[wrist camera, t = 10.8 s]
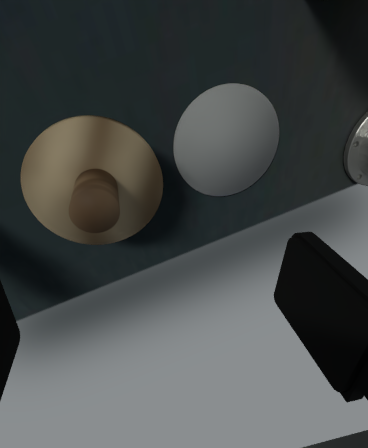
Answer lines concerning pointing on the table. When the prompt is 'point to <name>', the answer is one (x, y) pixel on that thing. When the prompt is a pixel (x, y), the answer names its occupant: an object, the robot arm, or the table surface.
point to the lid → (92, 180)
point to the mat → (226, 139)
